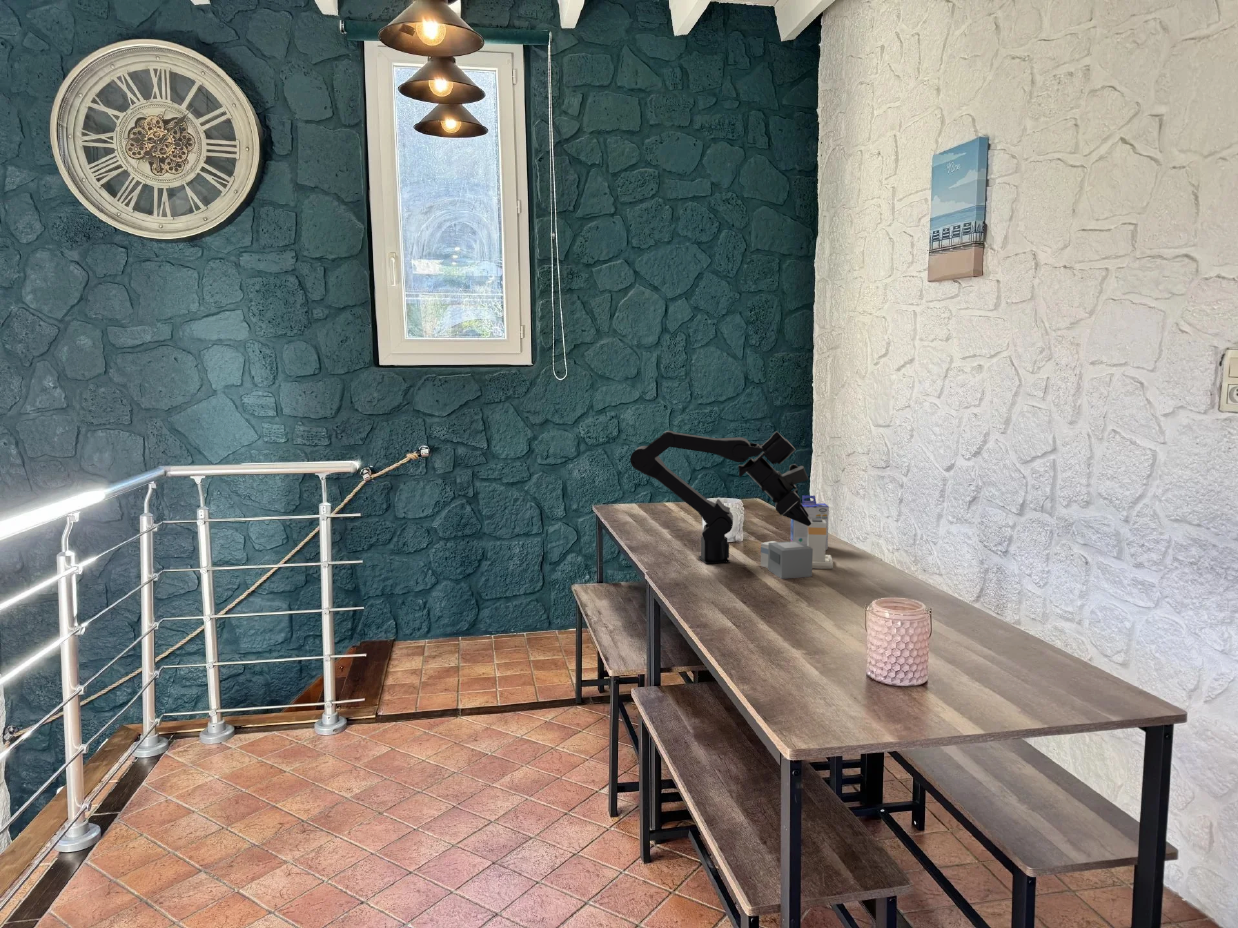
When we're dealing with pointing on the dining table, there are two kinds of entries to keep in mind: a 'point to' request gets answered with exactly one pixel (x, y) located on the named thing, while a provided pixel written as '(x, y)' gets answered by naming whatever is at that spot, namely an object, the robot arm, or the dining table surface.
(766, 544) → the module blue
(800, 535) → the ink cartridge box
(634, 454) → the robot arm
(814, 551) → the block
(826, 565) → the tray
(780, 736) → the dining table surface
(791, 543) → the block
